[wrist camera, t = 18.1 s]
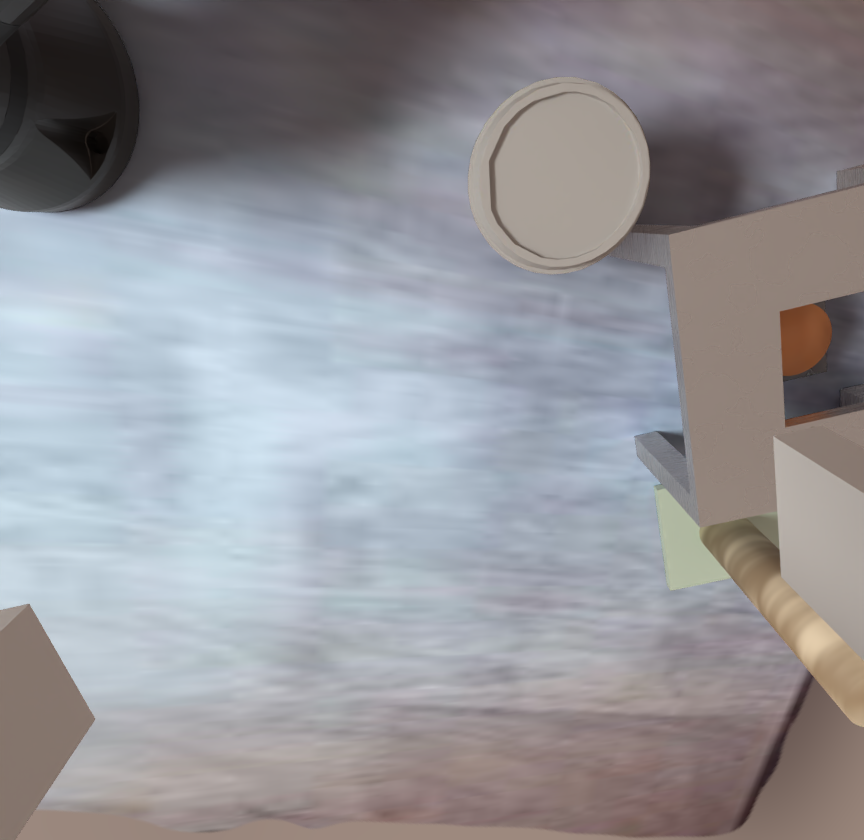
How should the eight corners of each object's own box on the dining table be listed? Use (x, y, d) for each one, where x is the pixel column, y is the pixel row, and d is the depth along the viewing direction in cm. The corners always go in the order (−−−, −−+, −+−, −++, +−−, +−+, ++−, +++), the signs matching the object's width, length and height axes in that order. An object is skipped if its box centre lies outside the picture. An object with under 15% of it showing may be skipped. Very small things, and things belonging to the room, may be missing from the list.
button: (710, 300, 42) (753, 312, 37) (776, 283, 42) (831, 293, 36) (715, 362, 44) (758, 383, 38) (779, 347, 43) (832, 366, 38)
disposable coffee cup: (496, 87, 38) (525, 32, 27) (619, 154, 40) (696, 128, 28) (435, 225, 41) (438, 227, 30) (552, 282, 42) (598, 306, 31)
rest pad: (653, 485, 48) (657, 490, 47) (775, 458, 47) (781, 462, 46) (667, 585, 51) (670, 590, 50) (781, 561, 50) (787, 566, 50)
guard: (605, 230, 41) (668, 235, 30) (863, 164, 40) (1026, 144, 29) (637, 456, 47) (699, 527, 36) (863, 405, 46) (999, 463, 35)
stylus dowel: (697, 514, 48) (844, 679, 31) (745, 504, 48) (921, 664, 31) (701, 555, 49) (845, 734, 32) (749, 544, 49) (919, 720, 32)
